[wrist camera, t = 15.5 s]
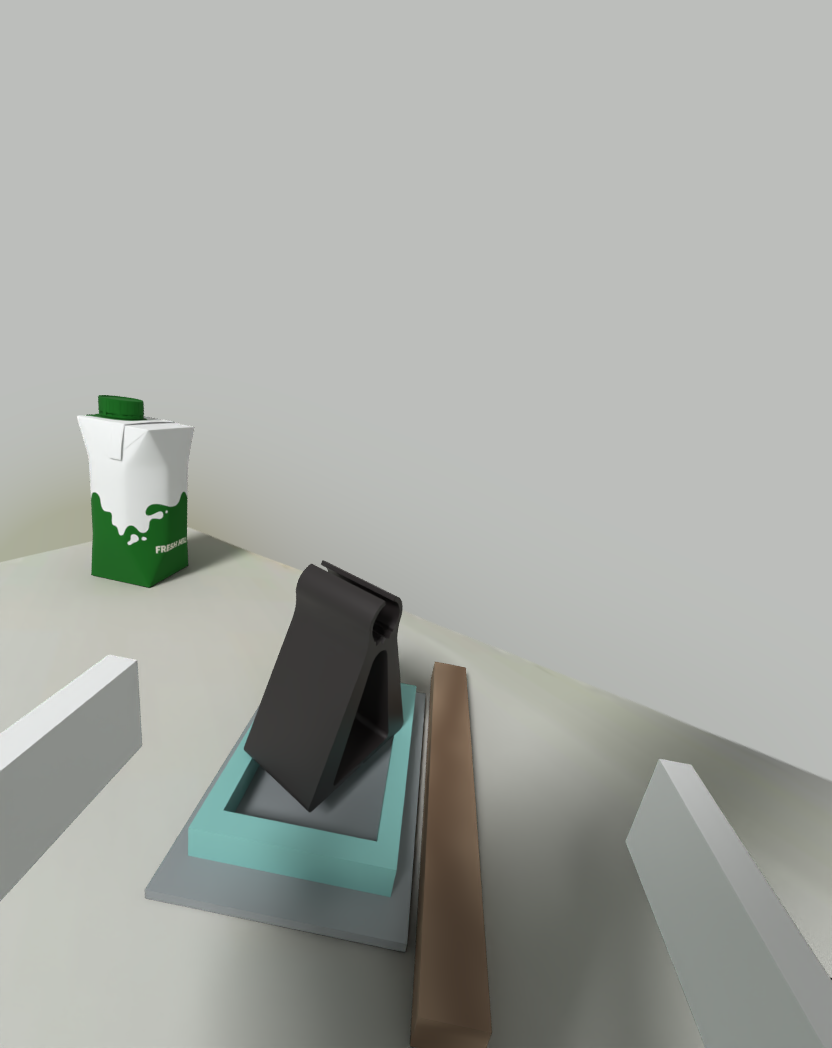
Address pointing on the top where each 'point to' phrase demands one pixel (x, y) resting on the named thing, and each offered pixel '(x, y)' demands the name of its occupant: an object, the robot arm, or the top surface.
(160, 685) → the top surface
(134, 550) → the milk carton
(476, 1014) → the strip
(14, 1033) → the top surface
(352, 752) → the phone stand
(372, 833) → the cradle
